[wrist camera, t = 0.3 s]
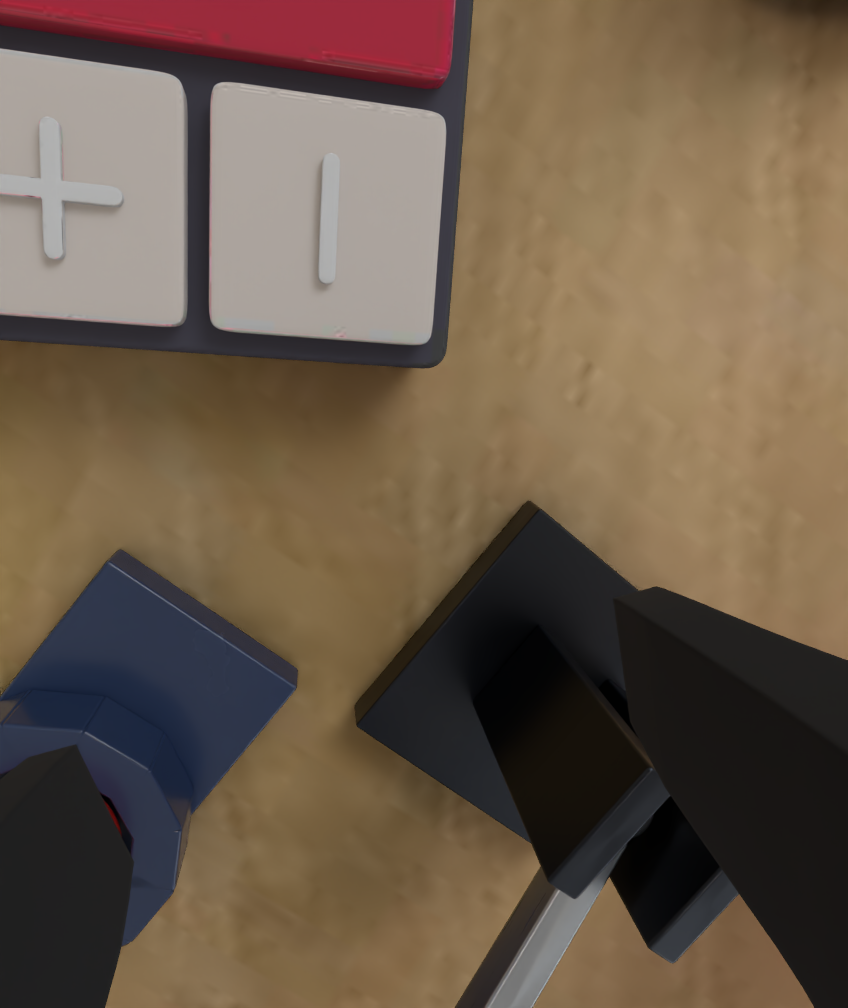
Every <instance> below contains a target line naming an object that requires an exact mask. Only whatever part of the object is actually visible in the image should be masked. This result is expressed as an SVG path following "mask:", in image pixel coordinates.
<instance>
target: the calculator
mask: <svg viewBox="0 0 848 1008" xmlns="http://www.w3.org/2000/svg"><path fill="white" fill-rule="evenodd" d="M472 11H473V0H0V340H9V341H24V342H39V343H53V344H68V345H83V346H98V347H112V348H127V349H142V350H157V351H171V352H186V353H201V354H215V355H230V356H245V357H260V358H274V359H289V360H304V361H319V362H333V363H348V364H363V365H377V366H392V367H407V368H431V367H434V366H436V365H438V364H439V363H440V362H441V361H442V360H443V358H444V356H445V353H446V349H447V339H448V326H449V313H450V300H451V287H452V273H453V260H454V247H455V234H456V221H457V208H458V195H459V181H460V168H461V155H462V142H463V129H464V116H465V103H466V89H467V76H468V63H469V50H470V37H471V24H472Z"/></svg>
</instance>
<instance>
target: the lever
mask: <svg viewBox="0 0 848 1008" xmlns="http://www.w3.org/2000/svg"><path fill="white" fill-rule="evenodd" d="M653 817H654V815H653V816H652V817H651V818H650V819H649V820H648V821H647V822H646V823H645V825H644V826H643V827H642V828H641V829H640V830H639V831H638V832H637V833H636V834H635V836H634V837H633V838H635V837H637V836H639V835H641V834H642V833H643V832H644V831H645V830H646V829H647V828H648V827H649V825H650V824H651V822H652V819H653ZM626 847H627V844H626V846H625V847H624V848H623V849H622V850H621V851H620V852H619V853H618V854H617V855H616V857H615V858H614V859H613V860H612V861H611V862H610V863H609V864H608V865H607V867H606V868H605V869H604V870H603V871H602V872H601V873H600V874H599V875H598V876H597V878H596V879H595V880H594V881H593V882H592V883H591V884H590V885H589V886H588V887H587V889H586V890H585V891H584V892H583V893H582V894H581V895H580V896H579V897H578V898H577V899H572V898H571V897H569V896H568V895H566V894H565V893H563V892H562V891H560V890H559V889H557V888H556V887H554V886H553V885H551V884H550V883H548V881H547V879H546V877H545V875H544V872H543V870H542V867H540V868H539V870H538V871H537V873H536V875H535V876H534V878H533V880H532V881H531V883H530V885H529V886H528V888H527V890H526V891H525V893H524V894H523V896H522V898H521V899H520V901H519V903H518V904H517V906H516V908H515V909H514V911H513V912H512V914H511V916H510V917H509V919H508V921H507V922H506V924H505V926H504V927H503V929H502V931H501V932H500V934H499V935H498V937H497V939H496V940H495V942H494V944H493V945H492V947H491V949H490V950H489V952H488V954H487V955H486V957H485V958H484V960H483V962H482V963H481V965H480V967H479V968H478V970H477V972H476V973H475V975H474V976H473V978H472V980H471V981H470V983H469V985H468V986H467V988H466V990H465V991H464V993H463V995H462V996H461V998H460V999H459V1001H458V1003H457V1004H456V1006H455V1008H532V1007H533V1005H534V1004H535V1002H536V1000H537V999H538V997H539V995H540V993H541V992H542V990H543V988H544V987H545V985H546V983H547V982H548V980H549V978H550V976H551V975H552V973H553V971H554V970H555V968H556V966H557V965H558V963H559V961H560V959H561V958H562V956H563V954H564V953H565V951H566V949H567V947H568V946H569V944H570V942H571V941H572V939H573V937H574V936H575V934H576V932H577V930H578V929H579V927H580V925H581V924H582V922H583V920H584V919H585V917H586V915H587V913H588V912H589V910H590V908H591V907H592V905H593V903H594V902H595V900H596V898H597V896H598V895H599V893H600V891H601V890H602V888H603V886H604V885H605V883H606V881H607V879H608V878H609V876H610V874H611V873H612V871H613V869H614V868H615V866H616V864H617V862H618V861H619V859H620V857H621V856H622V854H623V852H624V851H625V849H626Z"/></svg>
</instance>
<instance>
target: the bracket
mask: <svg viewBox="0 0 848 1008" xmlns="http://www.w3.org/2000/svg"><path fill="white" fill-rule="evenodd" d="M634 592H638V590H637V589H636V588H635V587H634V586H632V585H631V584H630V583H629V582H628V581H627V580H625V579H624V578H623V577H622V576H621V575H619V574H618V573H617V572H616V571H615V570H613V569H612V568H611V567H610V566H609V565H607V564H606V563H605V562H604V561H603V560H601V559H600V558H599V557H598V556H597V555H596V554H594V553H593V552H592V551H591V550H590V549H588V548H587V547H586V546H585V545H584V544H582V543H581V542H580V541H579V540H578V539H576V538H575V537H574V536H573V535H572V534H570V533H569V532H568V531H567V530H566V529H565V528H563V527H562V526H561V525H560V524H559V523H557V522H556V521H555V520H554V519H553V518H551V517H550V516H549V515H548V514H547V513H545V512H544V511H543V510H542V509H541V508H539V507H538V506H537V505H535V504H534V503H532V502H531V501H527V502H526V503H525V504H524V505H523V507H522V508H521V509H520V510H519V511H518V513H517V514H516V515H515V516H514V517H513V518H512V520H511V521H510V522H509V523H508V524H507V526H506V527H505V528H504V529H503V530H502V532H501V533H500V534H499V535H498V536H497V537H496V539H495V540H494V541H493V542H492V543H491V545H490V546H489V547H488V548H487V549H486V550H485V552H484V553H483V554H482V555H481V556H480V558H479V559H478V560H477V561H476V562H475V563H474V565H473V566H472V567H471V568H470V569H469V571H468V572H467V573H466V574H465V575H464V577H463V578H462V579H461V580H460V581H459V582H458V584H457V585H456V586H455V587H454V588H453V590H452V591H451V592H450V593H449V594H448V595H447V597H446V598H445V599H444V600H443V601H442V603H441V604H440V605H439V606H438V607H437V608H436V610H435V611H434V612H433V613H432V614H431V616H430V617H429V618H428V619H427V620H426V622H425V623H424V624H423V625H422V626H421V627H420V629H419V630H418V631H417V632H416V633H415V635H414V636H413V637H412V638H411V639H410V640H409V642H408V643H407V644H406V645H405V646H404V648H403V649H402V650H401V651H400V652H399V653H398V655H397V656H396V657H395V658H394V659H393V661H392V662H391V663H390V664H389V665H388V667H387V668H386V669H385V670H384V671H383V672H382V674H381V675H380V676H379V677H378V678H377V680H376V681H375V682H374V683H373V684H372V685H371V687H370V688H369V689H368V690H367V691H366V693H365V694H364V695H363V696H362V697H361V698H360V700H359V701H358V702H357V703H356V704H355V718H356V726H357V727H358V728H360V729H361V730H363V731H364V732H366V733H367V734H369V735H370V736H372V737H373V738H375V739H376V740H378V741H379V742H381V743H382V744H384V745H385V746H387V747H388V748H390V749H391V750H393V751H394V752H396V753H397V754H399V755H400V756H401V757H403V758H404V759H406V760H407V761H409V762H410V763H412V764H413V765H415V766H416V767H418V768H419V769H421V770H422V771H424V772H425V773H427V774H428V775H430V776H431V777H433V778H434V779H436V780H437V781H439V782H440V783H442V784H443V785H445V786H446V787H448V788H449V789H451V790H452V791H454V792H455V793H457V794H458V795H460V796H461V797H463V798H464V799H466V800H467V801H469V802H470V803H472V804H473V805H474V806H476V807H477V808H479V809H480V810H482V811H483V812H485V813H486V814H488V815H489V816H491V817H492V818H494V819H495V820H497V821H498V822H500V823H501V824H503V825H504V826H506V827H507V828H509V829H510V830H512V831H513V832H515V833H516V834H518V835H519V836H521V837H522V838H524V839H525V840H527V841H528V842H530V843H531V844H532V846H533V848H534V851H535V853H536V856H537V858H538V860H539V863H540V865H541V867H542V870H543V872H544V875H545V877H546V879H547V881H548V883H550V884H551V885H553V886H554V887H556V888H557V889H559V890H560V891H562V892H563V893H565V894H566V895H568V896H569V897H571V898H572V899H577V898H578V897H579V896H580V895H581V894H582V893H583V892H584V891H585V890H586V889H587V887H588V886H589V885H590V884H591V883H592V882H593V881H594V880H595V879H596V878H597V876H598V875H599V874H600V873H601V872H602V871H603V870H604V869H605V868H606V867H607V865H608V864H609V863H610V862H611V861H612V860H613V859H614V858H615V857H616V855H617V854H618V853H619V852H620V851H621V850H622V849H623V848H624V847H625V846H626V844H627V847H626V849H625V851H624V852H623V854H622V856H621V857H620V859H619V861H618V862H617V864H616V866H615V868H614V869H613V871H612V873H611V874H610V876H609V877H610V879H611V880H612V882H613V884H614V886H615V888H616V890H617V892H618V893H619V895H620V897H621V899H622V901H623V903H624V904H625V906H626V908H627V910H628V912H629V914H630V915H631V917H632V919H633V921H634V923H635V925H636V927H637V928H638V930H639V932H640V934H641V936H642V938H643V939H644V941H645V943H646V945H647V947H648V948H649V949H650V950H652V951H653V952H655V953H656V954H658V955H659V956H661V957H662V958H664V959H665V960H667V961H668V962H670V963H675V962H676V961H677V960H678V959H679V958H680V957H681V956H682V955H683V954H684V952H685V951H686V950H687V949H688V948H689V947H690V946H691V945H692V944H693V943H694V942H695V941H696V940H697V939H698V937H699V936H700V935H701V934H702V933H703V932H704V931H705V930H706V929H707V928H708V927H709V926H710V925H711V923H712V922H713V921H714V920H715V919H716V918H717V917H718V916H719V915H720V914H721V913H722V912H723V911H724V909H725V908H726V907H727V906H728V905H729V904H730V903H731V902H732V901H733V900H734V899H735V898H736V897H737V896H738V894H739V893H738V891H737V890H736V889H735V887H734V886H733V884H732V883H731V881H730V880H729V879H728V877H727V876H726V874H725V873H724V872H723V870H722V869H721V867H720V866H719V864H718V863H717V862H716V860H715V859H714V857H713V856H712V854H711V853H710V852H709V850H708V849H707V847H706V846H705V845H704V843H703V842H702V840H701V839H700V837H699V836H698V834H697V833H696V832H695V830H694V829H693V827H692V826H691V824H690V823H689V822H688V820H687V819H686V817H685V816H684V814H683V813H682V811H681V810H680V809H679V807H678V806H677V804H676V803H675V801H674V800H673V798H672V797H671V795H670V794H669V792H668V791H667V790H666V788H665V786H664V785H663V783H662V781H661V779H660V777H659V775H658V774H657V772H656V770H655V768H654V766H653V764H652V763H651V761H650V759H649V757H648V755H647V753H646V751H645V749H644V747H643V746H642V744H641V742H640V740H639V738H638V736H637V734H636V732H635V730H634V728H633V726H632V724H631V722H630V717H629V710H628V702H627V695H626V688H625V681H624V674H623V667H622V659H621V652H620V645H619V638H618V631H617V624H616V617H615V609H614V602H613V598H616V597H619V596H623V595H627V594H631V593H634ZM653 815H654V817H653V819H652V822H651V824H650V825H649V827H648V828H647V829H646V830H645V831H644V832H643V833H642V834H641V835H639V836H637V837H635V838H633V837H634V836H635V834H636V833H637V832H638V831H639V830H640V829H641V828H642V827H643V826H644V825H645V823H646V822H647V821H648V820H649V819H650V818H651V817H652V816H653Z"/></svg>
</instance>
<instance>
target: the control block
mask: <svg viewBox="0 0 848 1008" xmlns="http://www.w3.org/2000/svg"><path fill="white" fill-rule="evenodd" d="M297 677H298V670H297V668H295V667H294V666H292V665H291V664H289V663H288V662H286V661H285V660H283V659H282V658H281V657H279V656H278V655H276V654H275V653H273V652H272V651H270V650H269V649H267V648H266V647H264V646H263V645H261V644H260V643H258V642H257V641H255V640H254V639H253V638H251V637H250V636H248V635H247V634H245V633H244V632H242V631H241V630H239V629H238V628H236V627H235V626H233V625H232V624H230V623H229V622H227V621H226V620H225V619H223V618H222V617H220V616H219V615H217V614H216V613H214V612H213V611H211V610H210V609H208V608H207V607H205V606H204V605H202V604H201V603H200V602H198V601H197V600H195V599H194V598H192V597H191V596H189V595H188V594H186V593H185V592H183V591H182V590H180V589H179V588H177V587H176V586H174V585H173V584H172V583H170V582H169V581H167V580H166V579H164V578H163V577H161V576H160V575H158V574H157V573H155V572H154V571H152V570H151V569H149V568H148V567H146V566H145V565H144V564H142V563H141V562H139V561H138V560H136V559H135V558H133V557H132V556H130V555H129V554H127V553H126V552H124V551H123V550H121V549H119V550H118V551H117V552H116V553H115V554H114V555H113V556H112V557H111V558H110V559H109V560H108V561H107V562H106V563H105V564H104V565H103V567H102V568H101V569H100V570H99V572H98V573H97V574H96V575H95V577H94V578H93V579H92V581H91V582H90V583H89V584H88V586H87V587H86V588H85V589H84V591H83V592H82V593H81V595H80V596H79V597H78V598H77V600H76V601H75V602H74V603H73V605H72V606H71V607H70V608H69V610H68V611H67V612H66V614H65V615H64V616H63V617H62V619H61V620H60V621H59V622H58V624H57V625H56V626H55V627H54V629H53V630H52V631H51V633H50V634H49V635H48V636H47V638H46V639H45V640H44V641H43V643H42V644H41V645H40V646H39V648H38V649H37V650H36V652H35V653H34V654H33V655H32V657H31V658H30V659H29V660H28V662H27V663H26V664H25V665H24V667H23V668H22V669H21V671H20V672H19V673H18V674H17V676H16V677H15V678H14V679H13V681H12V682H11V683H10V684H9V686H8V687H7V688H6V690H5V691H4V692H3V693H2V695H1V696H0V779H1V778H2V777H4V776H5V775H6V774H7V773H8V772H10V771H11V770H12V769H13V768H15V767H16V766H17V765H19V764H20V763H21V762H23V761H24V760H25V759H27V758H28V757H31V756H34V755H38V754H42V753H45V752H49V751H53V750H57V749H60V748H64V747H68V746H71V745H75V744H76V746H77V748H78V750H79V752H80V754H81V756H82V758H83V760H84V762H85V764H86V766H87V768H88V770H89V772H90V774H91V776H92V778H93V780H94V782H95V784H96V786H97V788H98V790H99V792H100V794H101V796H102V798H103V799H104V801H105V802H106V803H107V804H108V805H109V806H110V808H111V809H112V811H113V812H114V814H115V816H116V818H117V820H118V823H119V826H120V830H121V835H122V839H123V841H124V843H125V845H126V847H127V849H128V851H129V853H130V855H131V857H132V859H133V861H134V867H133V874H132V882H131V890H130V897H129V905H128V911H127V917H126V923H125V929H124V935H123V941H122V946H125V945H127V944H128V943H130V942H132V941H133V940H134V939H135V938H136V937H137V935H138V934H139V933H140V932H141V931H142V930H143V928H144V927H145V926H146V925H147V924H148V922H149V921H150V920H151V919H152V918H153V916H154V915H155V914H156V913H157V912H158V910H159V909H160V908H161V907H162V906H163V905H164V903H165V902H166V901H167V900H168V899H169V897H170V896H171V895H172V894H173V892H174V889H175V887H176V884H177V881H178V877H179V873H180V869H181V866H182V862H183V858H184V855H185V851H186V847H187V843H188V834H189V826H190V818H191V815H192V814H193V812H194V811H195V810H196V809H197V808H198V806H199V805H200V804H201V803H202V802H203V800H204V799H205V798H206V797H207V796H208V794H209V793H210V792H211V791H212V790H213V788H214V787H215V786H216V785H217V784H218V782H219V781H220V780H221V779H222V778H223V776H224V775H225V774H226V773H227V772H228V770H229V769H230V768H231V767H232V766H233V764H234V763H235V762H236V761H237V760H238V758H239V757H240V756H241V755H242V754H243V752H244V751H245V750H246V749H247V748H248V746H249V745H250V744H251V743H252V742H253V740H254V739H255V738H256V737H257V736H258V734H259V733H260V732H261V731H262V730H263V728H264V727H265V726H266V725H267V724H268V722H269V721H270V720H271V719H272V718H273V716H274V715H275V714H276V713H277V712H278V710H279V709H280V708H281V707H282V706H283V704H284V703H285V702H286V701H287V700H288V698H289V697H290V696H291V695H292V694H293V692H294V691H295V690H296V688H297ZM122 946H121V947H122Z"/></svg>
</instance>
